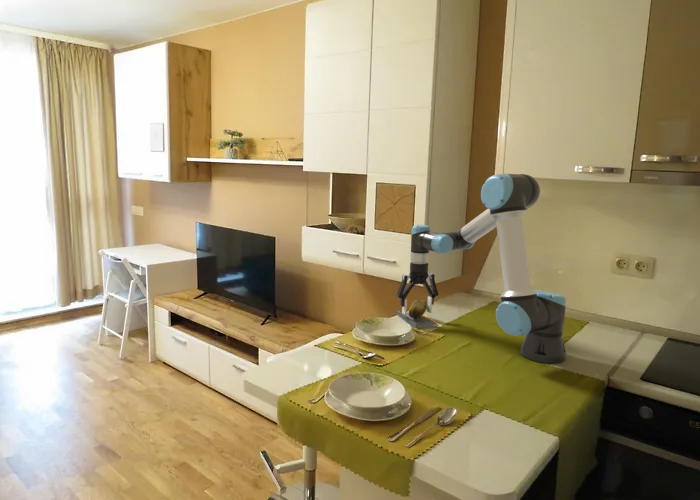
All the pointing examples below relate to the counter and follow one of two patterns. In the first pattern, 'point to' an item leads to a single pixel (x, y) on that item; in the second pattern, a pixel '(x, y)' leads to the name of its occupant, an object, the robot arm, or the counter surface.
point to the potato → (417, 308)
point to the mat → (417, 321)
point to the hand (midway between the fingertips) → (416, 312)
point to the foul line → (432, 320)
